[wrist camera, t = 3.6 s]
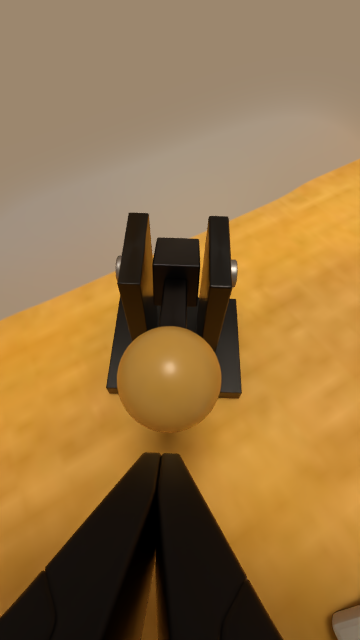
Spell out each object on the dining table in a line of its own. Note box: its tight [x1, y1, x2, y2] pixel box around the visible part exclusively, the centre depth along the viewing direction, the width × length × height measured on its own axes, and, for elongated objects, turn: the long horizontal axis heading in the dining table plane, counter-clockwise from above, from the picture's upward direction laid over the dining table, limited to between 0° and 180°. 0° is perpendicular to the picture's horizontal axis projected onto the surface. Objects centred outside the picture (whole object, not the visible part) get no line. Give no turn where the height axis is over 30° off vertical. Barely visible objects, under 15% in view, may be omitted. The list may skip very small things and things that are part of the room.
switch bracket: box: [106, 213, 242, 398], centre depth 20 cm, size 8×9×11 cm
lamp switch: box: [117, 238, 221, 432], centre depth 14 cm, size 10×4×4 cm, turn 178°
